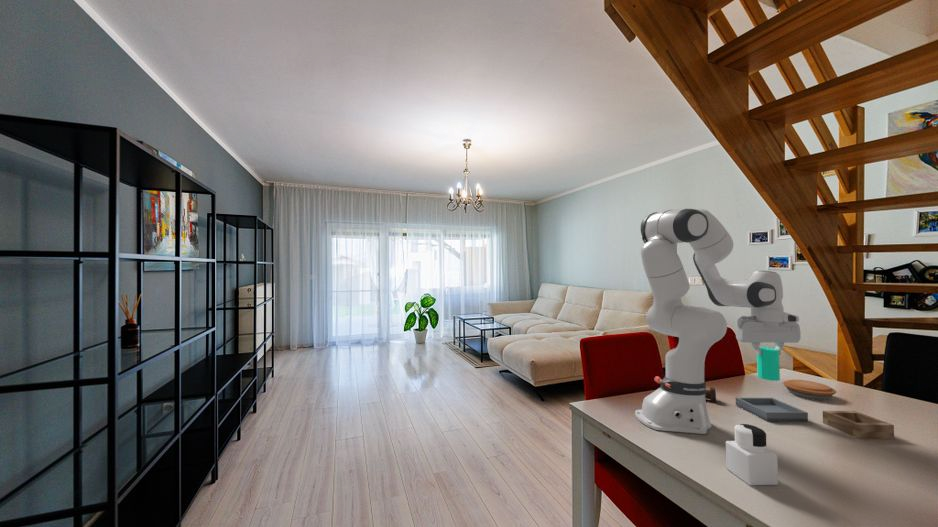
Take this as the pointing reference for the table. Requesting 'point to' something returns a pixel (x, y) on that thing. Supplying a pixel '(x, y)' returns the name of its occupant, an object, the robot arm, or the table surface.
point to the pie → (809, 389)
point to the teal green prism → (768, 364)
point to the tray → (772, 409)
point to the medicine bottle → (751, 456)
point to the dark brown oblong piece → (711, 394)
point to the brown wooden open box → (858, 424)
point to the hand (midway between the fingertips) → (768, 354)
